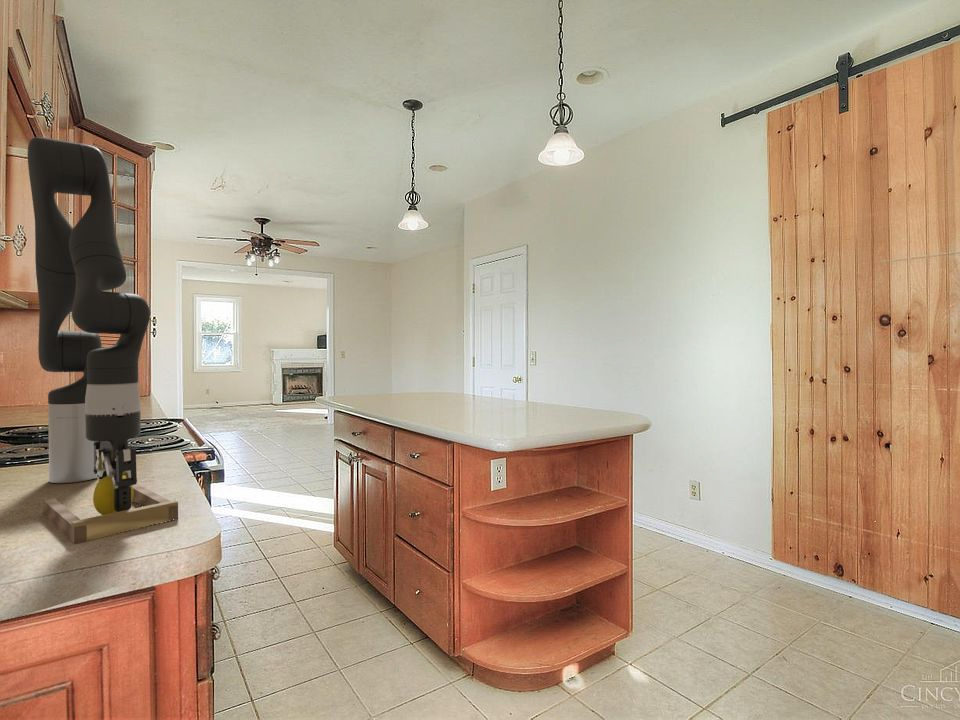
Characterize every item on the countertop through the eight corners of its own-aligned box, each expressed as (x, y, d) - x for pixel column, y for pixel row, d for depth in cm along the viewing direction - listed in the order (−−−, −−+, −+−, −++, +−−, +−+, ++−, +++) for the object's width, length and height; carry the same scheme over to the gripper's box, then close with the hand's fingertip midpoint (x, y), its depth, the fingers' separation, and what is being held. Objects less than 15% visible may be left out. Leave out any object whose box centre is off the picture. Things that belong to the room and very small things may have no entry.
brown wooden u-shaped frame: (42, 513, 88) (42, 496, 88) (135, 495, 98) (135, 480, 98) (74, 543, 74) (73, 523, 74) (178, 519, 85) (178, 501, 85)
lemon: (112, 525, 81) (111, 477, 81) (84, 523, 82) (84, 475, 82) (141, 514, 86) (141, 469, 86) (115, 512, 88) (114, 467, 87)
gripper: (74, 408, 86) (76, 502, 86) (98, 415, 77) (99, 520, 77) (126, 405, 91) (127, 492, 92) (153, 411, 82) (155, 508, 83)
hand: (114, 505), depth 84 cm, fingers open, 8 cm apart
